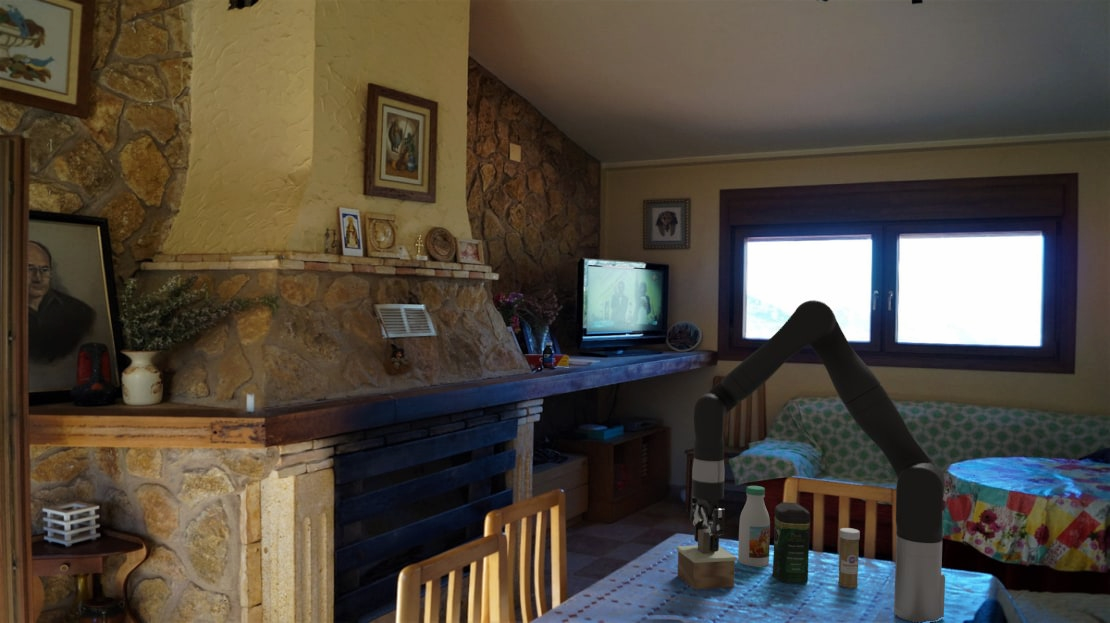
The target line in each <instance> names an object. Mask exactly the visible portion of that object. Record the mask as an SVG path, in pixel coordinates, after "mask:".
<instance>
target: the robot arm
mask: <svg viewBox="0 0 1110 623" xmlns="http://www.w3.org/2000/svg"><path fill="white" fill-rule="evenodd" d="M807 346H810V348H811V349H812V350H813V351H814V354H816V356H817V357H818V358H819V359H820V361H821V362H822V363H823V366H824V367H825V369H826V371H827V373H828V376H829V378H830V380H831V383H832V385H833V387H834V389H835V391H836V393H837V395H838V397H839V398H840V400H841V402H842V404H843V405H844V407H845V408H846V410H847V411H848V413H849V414H850V416H851V417H852V419H853V421H855V423H856V424H857V425H858V427H859V428H860V429H861V430H862V431H863V433H864V434H866V436H867V437H868V438H869V439H870V440H871V441H872V442H873V443H874V444H875V445H876V446H877V447H878V448H879V450H880V451H881V452H882V454H884V457H886V459H887V460H888V462H889V464H890V465H891V467H892V469H893V472H894V473H895V475H896V478H897V482H896V489H895V490H896V491H895V525H896V531H895V532H896V534H895V535H896V538H895V541H896V542H895V564H894V565H895V566H894V568H895V569H894V570H895V571H894V572H895V573H894V598H893V600H894V602H893V614H894V615H895V616H896V615H897V616H896V617H898V618H900V619H902V620H904V619H905V620H904V621H907V620H909V621H908V622H911V621H915V622H914V623H917V622H926V621H935V620H938V619H939V618H941V617H944V618H945V594H946V593H945V592H946V575H945V574H943V573H942V566H943V565H942V564H943V562H942V559H943V558H942V557H943V537H944V534H943V533H944V532H943V531H944V529H943V515H944V514H943V513H944V508H943V506H944V493H945V488H946V483H945V482H946V481H945V477H944V474H943V473H942V471H941V470H940V469H939V468H938V466H937V465H936V464H935V463H934V461H932V459H931V458H930V457H929V456H928V455H927V454H926V452H925V451H924V450H923V448H922V447H921V446H920V445H919V443H918V442H917V440H915V438H914V436H913V435H912V433H911V431H910V430H909V428H908V427H907V424H906V422H905V420H904V419H903V417H902V415H901V414H900V412H899V410H898V409H897V407H896V405H895V404H894V402H893V401H892V399H891V397H890V395H889V393H888V392H887V391H886V390H885V388H884V387H883V386H884V385H882V383H881V382H880V381H879V379H878V378H877V377H876V375H875V374H874V372H873V371H872V370H871V369H870V367H869V366H868V365H867V364H866V363H865V361H863V359H862V358H861V357H860V356H859V355H858V353H856V351H855V350H854V348H853V347H852V346H851V345H850V343H849V341H848V340H847V337H846V335H845V334H844V332H843V330H842V328H841V326H840V324H839V323H838V320H837V318H836V316H835V313H834V311H833V310H832V308H831V307H830V306H828V304H826V303H825V302H823V301H820V300H816V299H813V300H807V301H804V302H802V303H801V304H800V305H798V306H797V308H796V309H795V311H793V313H792V314H791V316H789V318H788V319H787V320H786V321H785V323H784V324H783V325H782V326H781V327H780V328H779V329H778V330H777V331H776V333H775V334H774V335H772V337H771V338H769V339H768V340H767V341H766V342H765V343H764V344H762V345H761V346H760V347H758V349H756V350H755V351H754V352H753V353H751V354H750V355H749V356H747V357H746V358H745V359H744V360H743V361H741V362H740V363H739V364H737V366H736V367H734V368H733V369H732V370H731V371H730V372H728V373H727V374H726V375H725V377H723V379H722V380H721V381H720V382H718V383H717V384H716V385H714V386H713V387H712V388H711V389H709V390H708V391H707V392H705V394H703V395H702V396H701V397H700V398H698V399H697V400H696V401H695V404H694V406H693V426H694V427H693V428H694V446H693V449H694V450H693V454H694V455H693V463H692V471H691V472H692V474H691V477H692V480H691V498H690V513H689V514H690V518H689V519H690V522H692V524H693V526H694V533H693V534H694V535H693V536H694V538H693V539H694V541H695V542H696V543H698V529H705V527H707V529H708V530H709V551H711V552H717V551H718V550H719V546H720V536H724V535H725V526H726V525H725V522H726V517H725V516H726V511H725V508H719V501H720V500H723V499H724V496H725V472H726V471H725V470H726V469H725V440H724V437H723V432H724V417H725V416H726V415H727V414H729V412H731V411H732V410H733V409H734V408H735V407H736V406H737V405H738V404H739V403H740V402H742V401H744V400H746V399H747V398H749V397H750V396H751V395H752V394H753V393H754V392H756V390H758V389H759V388H760V387H761V386H763V385H764V384H765V383H766V382H767V381H769V379H771V377H772V376H773V375H774V374H775V373H776V372H777V371H778V370H779V369H780V368H781V367H782V366H783V365H784V364H785V363H786V362H787V361H788V360H790V358H792V357H793V356H794V355H795V354H797V353H798V352H799V351H801V350H802V349H805V347H807ZM704 525H705V526H704Z"/></svg>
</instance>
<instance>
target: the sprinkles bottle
mask: <svg viewBox="0 0 1110 623" xmlns="http://www.w3.org/2000/svg"><path fill="white" fill-rule="evenodd" d="M860 532H861V531H860V530H858V529H855V528H851V527H841V528H840V529H839V549H838V583H837V584H838V585H839V586H840V587H841V588H842V587H843V588H848V589H854V588H858V586H859V584H858V577H859V575H858V574H859V554H860V553H859V552H860V551H859V542H860V538H861V536H860Z"/></svg>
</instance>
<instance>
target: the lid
mask: <svg viewBox="0 0 1110 623" xmlns="http://www.w3.org/2000/svg"><path fill="white" fill-rule="evenodd" d="M676 551H677V552H678V551H679V552H680V553H682V554H683V555H684V556H686V557H687V558H688V559H690V560H691V561H693V562H694V563H704V562H721V561H738V556H736V555H734V554H733V553H731V552H729V551H728V550H727V549H725V548H723V547H721V546H720V545H719V550H718V551H717V552H711V551H709V530H708V528H704V529H698V542H697V545H696V544H695V545H682V546H680V545H677V546H676Z"/></svg>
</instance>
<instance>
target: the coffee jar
mask: <svg viewBox="0 0 1110 623" xmlns="http://www.w3.org/2000/svg"><path fill="white" fill-rule="evenodd" d="M774 508H775V509H774V538H773V555H772V556H773V559H772V575H773V577H774V579H775V580H776V581H778V582H779V583H785V584H794V585H796V584H797V585H804V584H808V581H809V554H810V552H809V550H810V532H811V530H810V527H811V513H810V512H809V510H808V509H807V508H805V507H804V506H801V504H799V503H798V502H789V501H787V502H786V501H783V502H780V503H779V504H777V505H776V506H775V507H774Z"/></svg>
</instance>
